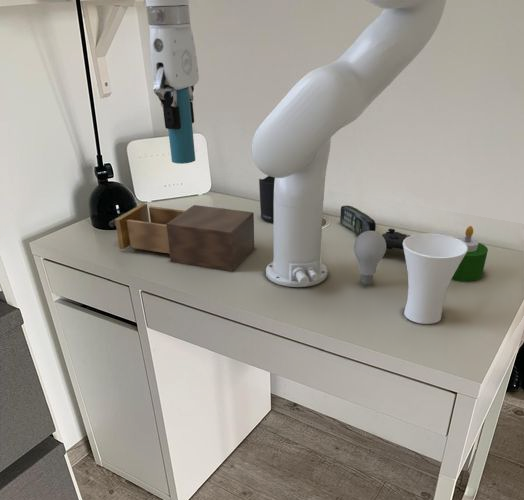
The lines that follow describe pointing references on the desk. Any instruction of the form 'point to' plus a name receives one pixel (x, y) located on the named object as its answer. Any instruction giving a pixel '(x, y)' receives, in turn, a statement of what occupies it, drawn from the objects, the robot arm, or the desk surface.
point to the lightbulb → (369, 254)
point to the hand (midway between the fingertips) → (180, 124)
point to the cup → (430, 273)
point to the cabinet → (211, 237)
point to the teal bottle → (182, 131)
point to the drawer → (145, 228)
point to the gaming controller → (394, 239)
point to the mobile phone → (356, 220)
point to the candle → (471, 259)
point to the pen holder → (267, 198)
